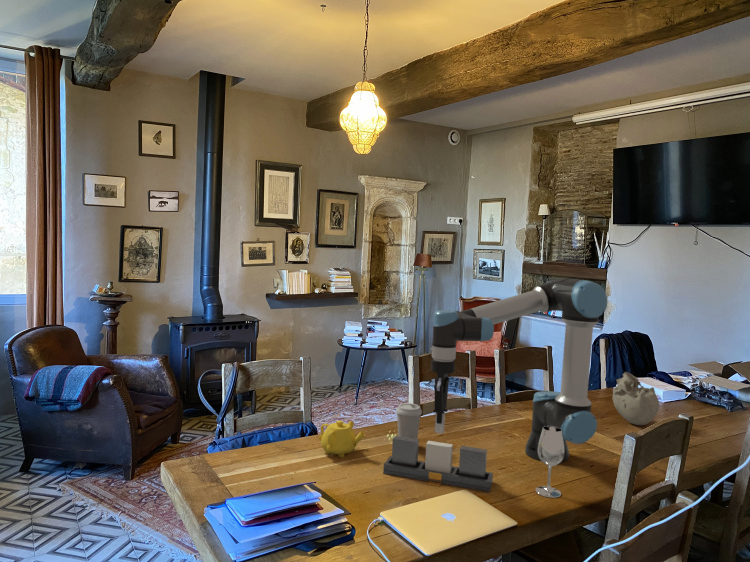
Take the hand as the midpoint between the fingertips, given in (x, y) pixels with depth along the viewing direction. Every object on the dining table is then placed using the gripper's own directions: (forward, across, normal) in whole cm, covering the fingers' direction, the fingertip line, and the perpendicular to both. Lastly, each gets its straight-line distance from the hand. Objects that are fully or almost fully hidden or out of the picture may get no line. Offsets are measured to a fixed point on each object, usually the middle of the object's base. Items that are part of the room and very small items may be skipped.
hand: (439, 432), depth 177 cm
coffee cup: (+15, -23, -16) cm, 32 cm away
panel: (+14, 0, 0) cm, 14 cm away
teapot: (+15, -8, -36) cm, 40 cm away
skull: (+15, -92, +69) cm, 116 cm away
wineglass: (+15, -3, +34) cm, 37 cm away
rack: (+15, +1, 0) cm, 15 cm away
